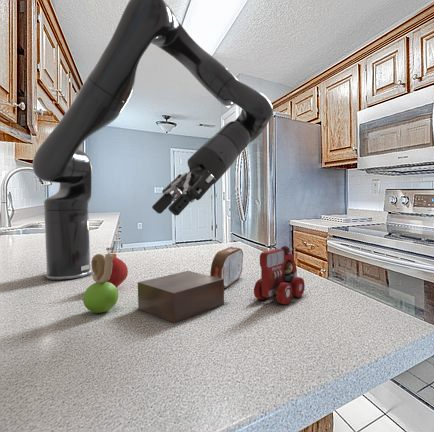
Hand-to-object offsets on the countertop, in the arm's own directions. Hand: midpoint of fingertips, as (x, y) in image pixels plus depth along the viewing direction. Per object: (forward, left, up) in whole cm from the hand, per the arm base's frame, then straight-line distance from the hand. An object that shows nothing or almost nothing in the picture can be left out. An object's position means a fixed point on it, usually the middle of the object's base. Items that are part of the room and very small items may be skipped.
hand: (163, 211), depth 61 cm
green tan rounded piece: (-2, -11, -18) cm, 21 cm away
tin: (+3, +15, -18) cm, 24 cm away
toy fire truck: (+19, +14, -18) cm, 29 cm away
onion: (-15, -3, -18) cm, 24 cm away
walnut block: (+7, -1, -18) cm, 19 cm away
